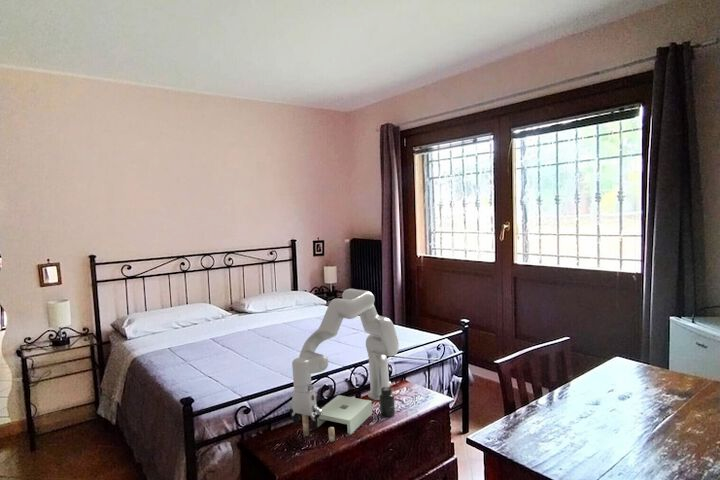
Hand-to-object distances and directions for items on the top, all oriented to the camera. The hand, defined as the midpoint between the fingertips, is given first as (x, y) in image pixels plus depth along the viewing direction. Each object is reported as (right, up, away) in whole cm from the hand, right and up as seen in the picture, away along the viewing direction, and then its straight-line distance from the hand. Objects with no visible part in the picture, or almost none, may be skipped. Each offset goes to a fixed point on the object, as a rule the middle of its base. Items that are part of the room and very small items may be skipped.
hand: (305, 426), depth 185 cm
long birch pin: (0, -3, 0) cm, 3 cm away
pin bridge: (+16, -2, +11) cm, 20 cm away
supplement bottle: (+36, 0, +14) cm, 39 cm away
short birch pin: (+12, -3, -6) cm, 13 cm away
